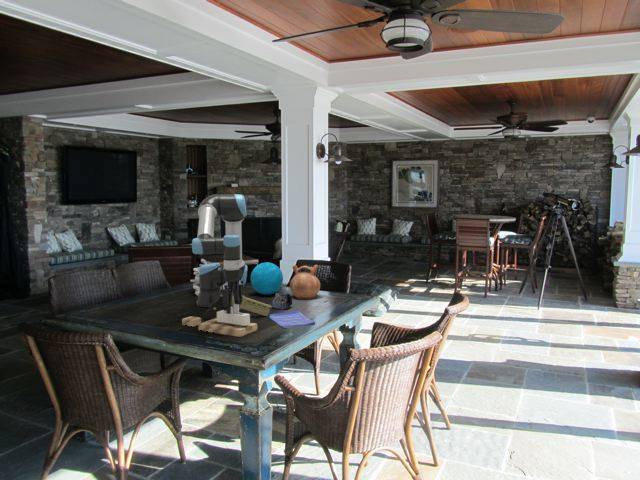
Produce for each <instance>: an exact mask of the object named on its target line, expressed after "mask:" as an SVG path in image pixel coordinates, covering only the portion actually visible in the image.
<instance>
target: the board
mask: <svg viewBox="0 0 640 480" xmlns="http://www.w3.org/2000/svg"><path fill="white" fill-rule="evenodd" d="M197 326H198V331H200V330H202V331H201V332H206V331H208V332H207V333H213V332H214V334H220V335H225V336H232V337H238V338H241V337H244V336H246V335H248V334H251V333H253V332H256V331H258V323H255V322H250V324H248V325H245V327H239V325H236V324H230V323H227V325H225V324H222V322H217V317H215V319H209V320H206V321H202V322H201V323H199V324H198V325H197Z"/></svg>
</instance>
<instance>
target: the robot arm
mask: <svg viewBox="0 0 640 480" xmlns="http://www.w3.org/2000/svg"><path fill="white" fill-rule="evenodd" d="M246 204H247V203H246V199H245V196H244V195H243V194H240V193H239V194H238V193H237V194H236V193H231V194H228V193H226V194H223V193H222V194H218V193H216V194H215V193H214V194H212V195H209V196H207V197H206V198H204V199H203V200H202V202H200V204H199V206H198V210H197V215H198V218H199V219H198V226H197V227H198V228H197V236H196V237H195V238H193V239H192V240H191V251H192V253H193V254H195V255H214V254H215V255H217V254H223V264H222V265H221V263H220V262H210V264H205V265H202V266H199V267H200V268H199V283H200V284H199V287H200V292H199V296H197V300H196V306H197V307H200V308H209V307H210V305H211V304H212V303H213V302H214V301H216V300H217V299H218V298H219V296H220V295H222V294H223V306H226V307H225V308H226V309H227V310H226V309H225V310H226V311H227V320H229V321H233V312H238V313H240V309H239V304H241V302H242V301H243V293H244V291H243V287H244V285H245V284H246V282H247V277H248V265H247V264H246V263H245V261H244V260H243V251H242V250H243V244H242V243H243V242H242V241H243V240H242V239H243V238H242V233H243V232H242V229H243V228H242V222H243V221H244V220H245V217H246V216H247V215H248V214H247V205H246ZM216 217H221V218H222V221H223V222H225V235H224V236H223V237H214V233H215V232H214V231H215V218H216ZM221 287H222V290H221ZM229 289H230V290H229ZM232 295H233V296H234V303H235V304H233V307H232V306H231V305H232Z"/></svg>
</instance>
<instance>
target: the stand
mask: <svg viewBox="0 0 640 480" xmlns="http://www.w3.org/2000/svg"><path fill="white" fill-rule="evenodd" d="M181 322H182V324H181V326H185V325H187V327H191V326H192V327H196V326H198V324H199V323H202V317H198V316H187V317H184V318H182V319H181Z"/></svg>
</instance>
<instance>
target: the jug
mask: <svg viewBox="0 0 640 480" xmlns="http://www.w3.org/2000/svg"><path fill="white" fill-rule="evenodd" d="M317 267H318V265H317V264H315V265H313V266H308V265H302V266H299V267H298V266H297V264H295V265H293V266H292V270H293V271H294V272H293V273H294V275H293V277H292V279H291V280H290V282H289V290H290V291H291V293H292V295H293V296H294V298H296V299H298V300H311V299H314V298H316V297H317V295H318V293H319V292H320V289H321V282H320V280H319V278H318V277H317V276H316V275H315V272H316V271H317ZM303 269H306V270H307V271H301V270H303Z"/></svg>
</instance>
